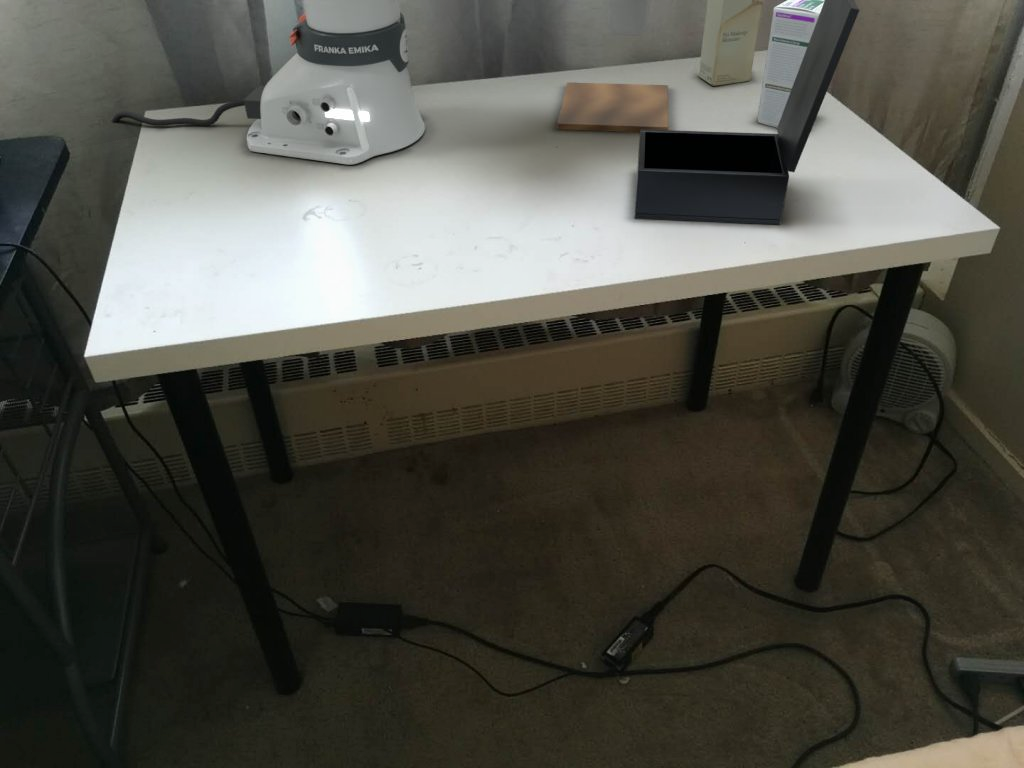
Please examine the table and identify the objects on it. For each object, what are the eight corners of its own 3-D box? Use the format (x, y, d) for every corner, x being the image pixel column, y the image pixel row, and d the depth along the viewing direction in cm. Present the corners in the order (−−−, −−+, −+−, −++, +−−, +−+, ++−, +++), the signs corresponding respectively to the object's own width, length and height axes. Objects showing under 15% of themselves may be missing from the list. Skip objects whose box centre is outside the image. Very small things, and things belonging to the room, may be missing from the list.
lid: (851, 8, 76) (859, 9, 76) (833, -25, 84) (841, -23, 84) (786, 171, 87) (794, 172, 87) (776, 128, 94) (783, 130, 94)
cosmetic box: (712, 87, 120) (724, -5, 112) (696, 76, 123) (707, -14, 115) (752, 80, 121) (766, -11, 113) (735, 70, 124) (748, -20, 116)
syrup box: (798, 133, 107) (822, 12, 98) (754, 122, 110) (773, 4, 101) (816, 118, 111) (841, -1, 101) (773, 108, 114) (793, -8, 104)
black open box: (634, 218, 92) (638, 170, 89) (636, 175, 100) (640, 129, 96) (779, 225, 90) (789, 176, 87) (770, 180, 98) (779, 133, 95)
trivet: (557, 129, 110) (557, 123, 110) (566, 87, 121) (566, 82, 120) (667, 133, 108) (668, 127, 108) (667, 90, 119) (668, 84, 119)
